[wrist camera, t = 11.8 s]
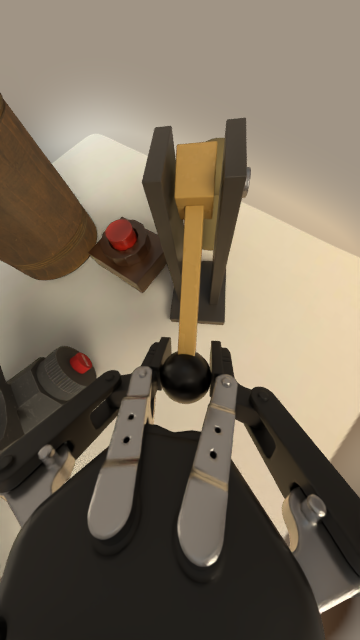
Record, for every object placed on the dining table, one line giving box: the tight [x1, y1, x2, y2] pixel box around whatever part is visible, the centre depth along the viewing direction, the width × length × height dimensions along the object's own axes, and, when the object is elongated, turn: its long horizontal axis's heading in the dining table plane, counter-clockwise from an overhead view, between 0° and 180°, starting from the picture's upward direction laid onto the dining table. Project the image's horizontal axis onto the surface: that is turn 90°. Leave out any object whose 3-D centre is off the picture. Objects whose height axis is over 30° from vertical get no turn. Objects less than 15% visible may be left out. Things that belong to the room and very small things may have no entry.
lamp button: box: [106, 219, 137, 251], centre depth 22 cm, size 4×4×2 cm
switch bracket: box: [142, 118, 251, 325], centre depth 16 cm, size 9×7×16 cm
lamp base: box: [88, 217, 167, 293], centre depth 25 cm, size 10×8×4 cm
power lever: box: [160, 141, 218, 404], centre depth 11 cm, size 15×3×3 cm, turn 174°
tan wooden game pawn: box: [202, 138, 225, 250], centre depth 22 cm, size 6×6×11 cm
